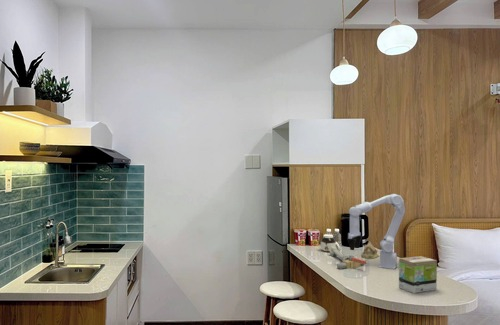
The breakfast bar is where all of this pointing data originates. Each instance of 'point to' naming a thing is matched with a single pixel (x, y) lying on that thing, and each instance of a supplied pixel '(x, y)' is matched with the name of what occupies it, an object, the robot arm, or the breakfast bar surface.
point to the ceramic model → (369, 251)
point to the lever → (356, 260)
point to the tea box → (417, 274)
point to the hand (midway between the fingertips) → (354, 248)
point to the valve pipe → (348, 264)
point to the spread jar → (328, 243)
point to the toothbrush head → (337, 254)
